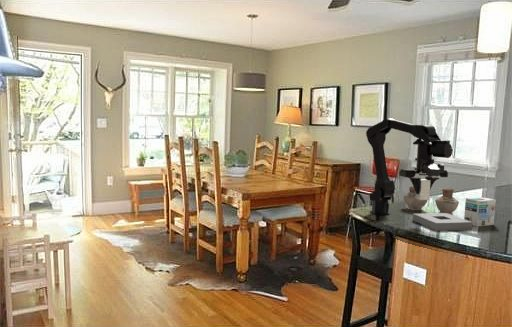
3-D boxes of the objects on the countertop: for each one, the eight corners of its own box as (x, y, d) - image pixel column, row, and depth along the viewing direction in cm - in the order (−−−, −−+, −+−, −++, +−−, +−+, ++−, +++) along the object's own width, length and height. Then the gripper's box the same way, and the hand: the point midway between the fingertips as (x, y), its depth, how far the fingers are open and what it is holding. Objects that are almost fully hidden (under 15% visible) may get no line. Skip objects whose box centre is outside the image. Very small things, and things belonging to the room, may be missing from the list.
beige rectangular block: (420, 199, 173) (421, 180, 173) (414, 198, 177) (416, 179, 176) (429, 199, 174) (430, 180, 173) (423, 198, 178) (424, 179, 177)
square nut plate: (435, 230, 166) (436, 223, 166) (412, 220, 182) (413, 213, 181) (471, 229, 169) (472, 222, 169) (446, 219, 185) (446, 213, 185)
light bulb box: (477, 227, 174) (479, 200, 173) (462, 223, 180) (464, 197, 179) (494, 224, 179) (496, 199, 178) (479, 221, 185) (481, 196, 184)
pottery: (453, 218, 189) (455, 191, 187) (398, 209, 205) (400, 184, 204) (461, 214, 197) (463, 189, 196) (407, 206, 213) (409, 182, 212)
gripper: (414, 157, 164) (411, 197, 166) (457, 157, 168) (455, 197, 169) (399, 155, 175) (397, 193, 177) (440, 155, 179) (438, 192, 180)
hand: (422, 194), depth 175 cm, fingers closed on beige rectangular block, 4 cm apart
